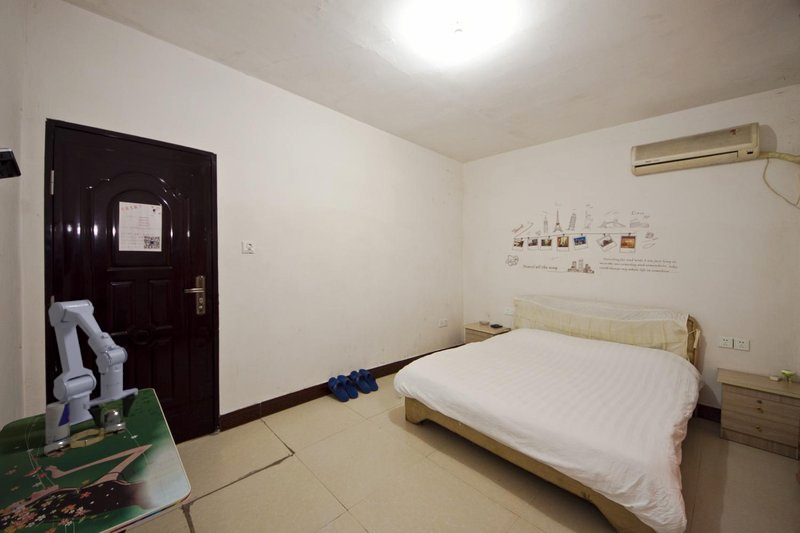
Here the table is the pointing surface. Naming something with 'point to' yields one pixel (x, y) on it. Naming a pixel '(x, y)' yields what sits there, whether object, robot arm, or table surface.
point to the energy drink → (57, 421)
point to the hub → (111, 417)
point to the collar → (87, 442)
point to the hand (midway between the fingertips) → (112, 421)
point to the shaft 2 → (115, 428)
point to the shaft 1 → (57, 447)
